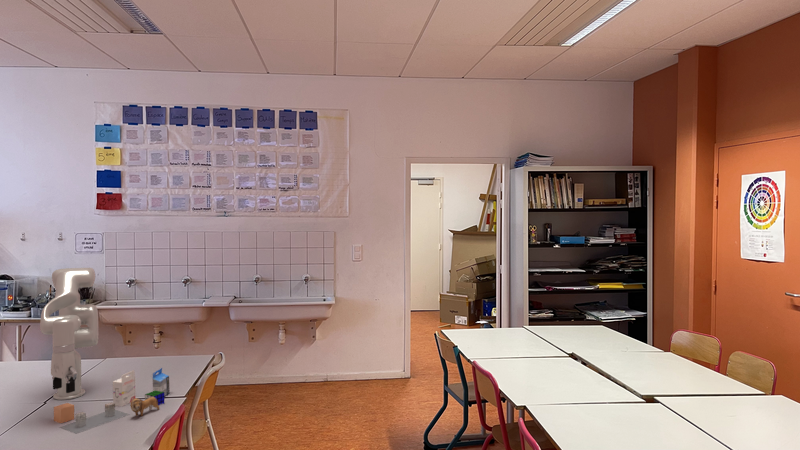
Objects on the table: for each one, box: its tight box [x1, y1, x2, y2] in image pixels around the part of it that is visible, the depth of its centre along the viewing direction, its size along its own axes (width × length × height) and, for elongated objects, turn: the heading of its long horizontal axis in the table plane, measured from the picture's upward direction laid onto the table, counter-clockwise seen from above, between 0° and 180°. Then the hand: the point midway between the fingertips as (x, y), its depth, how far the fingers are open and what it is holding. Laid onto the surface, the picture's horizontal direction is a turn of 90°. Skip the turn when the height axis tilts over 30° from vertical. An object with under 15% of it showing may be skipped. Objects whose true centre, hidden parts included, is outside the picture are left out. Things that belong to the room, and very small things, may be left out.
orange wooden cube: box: [53, 402, 75, 424], centre depth 210 cm, size 5×5×7 cm
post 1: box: [74, 411, 87, 428], centre depth 204 cm, size 3×3×5 cm
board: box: [58, 409, 131, 434], centre depth 209 cm, size 12×22×1 cm, turn 151°
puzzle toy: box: [144, 390, 165, 408], centre depth 228 cm, size 6×6×6 cm
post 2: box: [104, 401, 116, 417], centre depth 214 cm, size 3×3×5 cm
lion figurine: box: [129, 397, 160, 417], centre depth 217 cm, size 15×5×9 cm, turn 163°
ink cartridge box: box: [112, 369, 136, 407], centre depth 229 cm, size 9×5×15 cm, turn 168°
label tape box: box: [152, 367, 171, 397], centre depth 240 cm, size 9×4×12 cm, turn 179°
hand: (63, 390), depth 209 cm, fingers open, 9 cm apart
